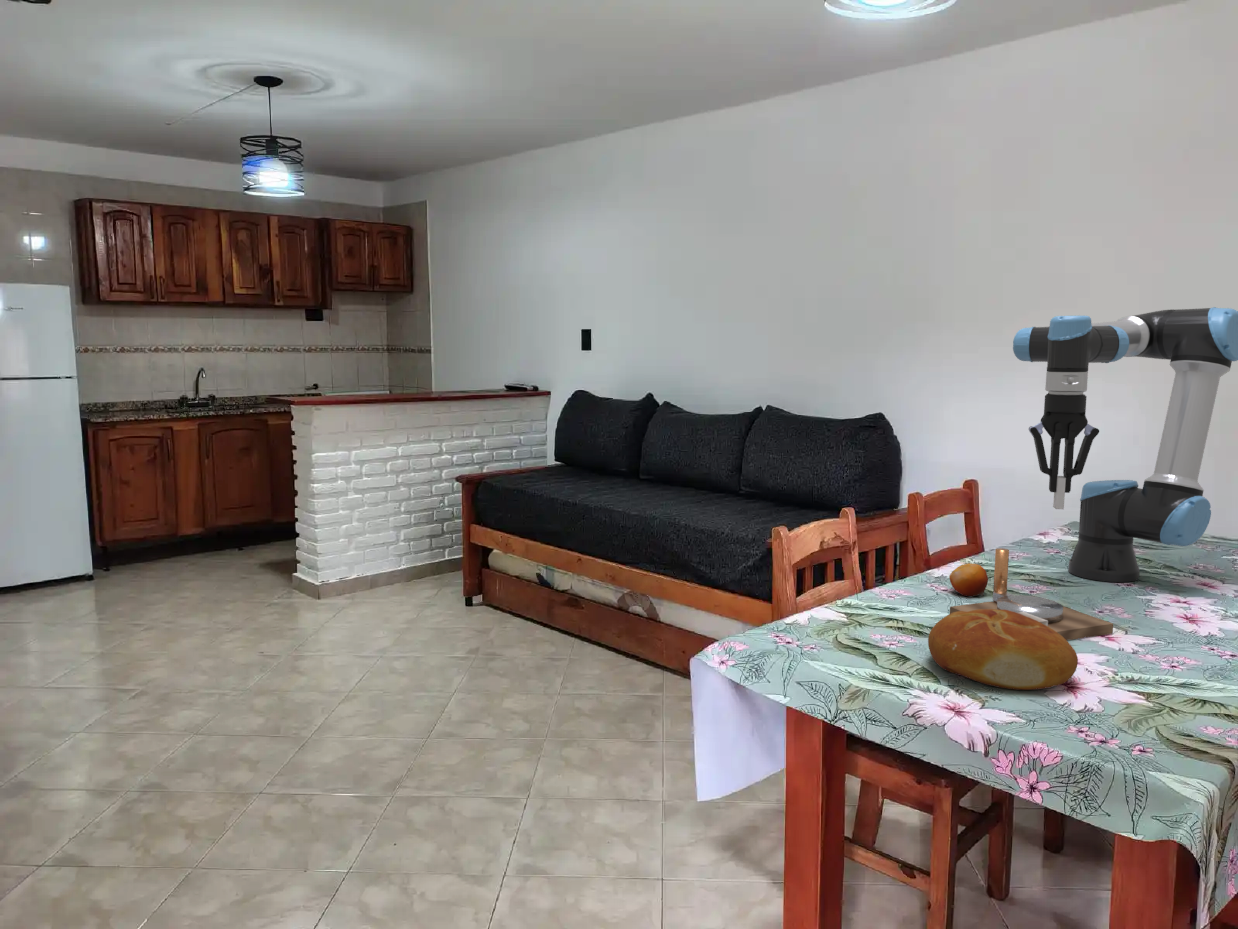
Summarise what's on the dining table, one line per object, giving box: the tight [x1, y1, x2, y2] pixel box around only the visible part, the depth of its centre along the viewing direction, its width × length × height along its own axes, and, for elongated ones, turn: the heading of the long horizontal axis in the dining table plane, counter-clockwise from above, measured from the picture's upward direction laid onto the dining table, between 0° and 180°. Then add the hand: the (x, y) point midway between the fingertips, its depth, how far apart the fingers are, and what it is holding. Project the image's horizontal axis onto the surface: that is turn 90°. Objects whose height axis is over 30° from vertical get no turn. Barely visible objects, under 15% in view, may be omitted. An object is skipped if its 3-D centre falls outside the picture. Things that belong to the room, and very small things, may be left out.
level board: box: [949, 595, 1114, 641], centre depth 176 cm, size 22×20×4 cm
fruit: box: [949, 562, 989, 597], centre depth 198 cm, size 8×8×8 cm
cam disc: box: [992, 547, 1064, 623], centre depth 178 cm, size 16×12×11 cm
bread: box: [927, 609, 1079, 691], centre depth 151 cm, size 23×23×10 cm
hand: (1058, 508), depth 181 cm, fingers closed
